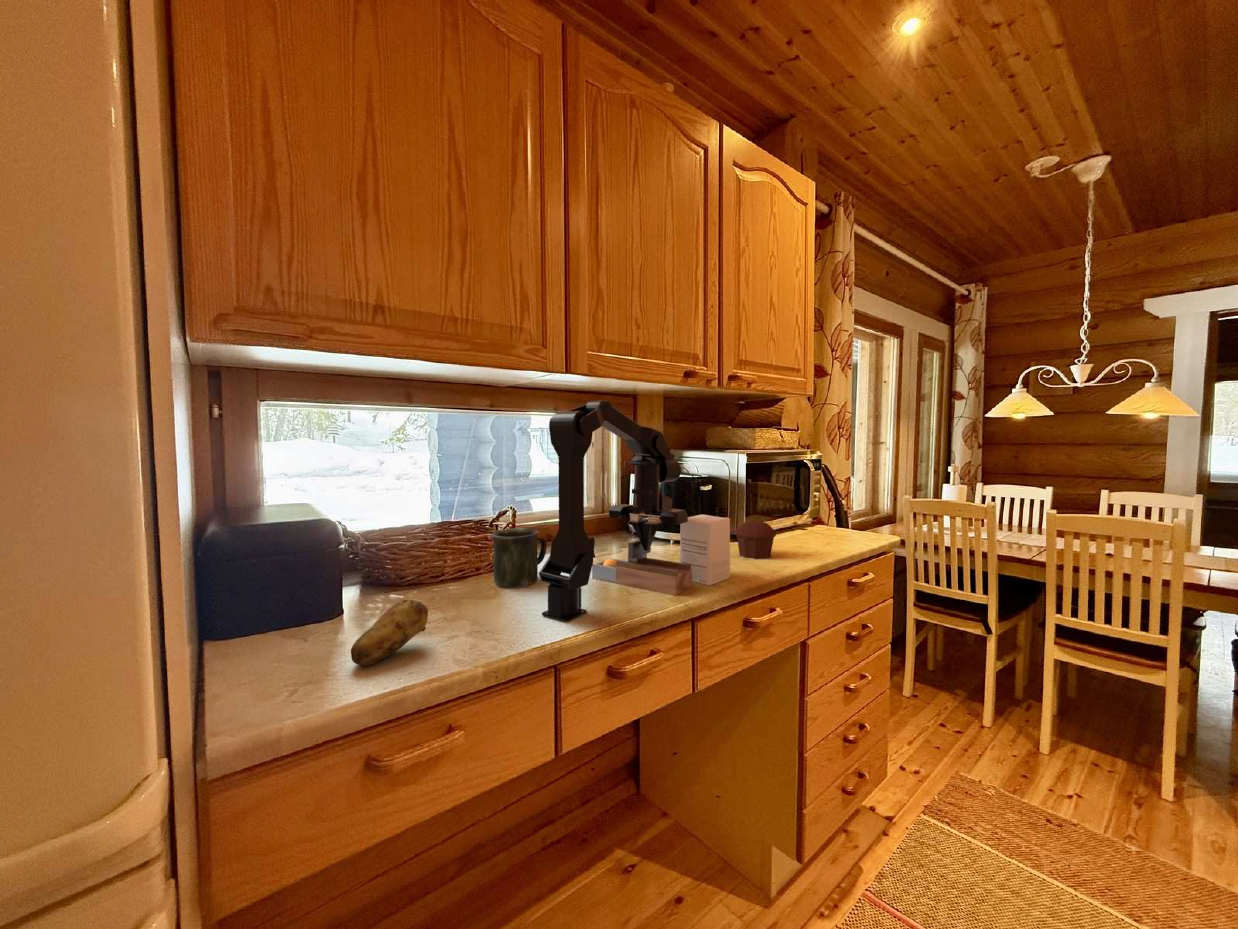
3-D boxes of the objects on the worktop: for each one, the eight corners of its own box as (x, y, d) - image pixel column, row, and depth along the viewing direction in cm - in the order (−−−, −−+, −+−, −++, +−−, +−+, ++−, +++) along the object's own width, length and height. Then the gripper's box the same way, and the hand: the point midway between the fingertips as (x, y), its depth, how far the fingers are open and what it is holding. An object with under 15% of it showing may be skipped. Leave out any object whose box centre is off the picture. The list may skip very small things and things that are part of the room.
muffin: (726, 554, 153) (727, 520, 152) (749, 549, 160) (750, 516, 159) (761, 562, 144) (761, 526, 143) (783, 556, 151) (784, 521, 150)
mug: (482, 582, 125) (482, 532, 124) (531, 570, 135) (531, 524, 135) (510, 592, 117) (509, 539, 117) (559, 578, 128) (559, 530, 127)
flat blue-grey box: (618, 583, 124) (618, 569, 123) (592, 578, 128) (592, 564, 128) (635, 576, 130) (635, 562, 130) (610, 571, 134) (610, 558, 134)
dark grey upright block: (632, 569, 121) (632, 543, 121) (623, 567, 122) (623, 541, 122) (650, 561, 127) (650, 537, 127) (641, 560, 129) (642, 536, 129)
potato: (338, 659, 83) (337, 609, 82) (418, 636, 92) (417, 591, 91) (357, 676, 77) (355, 623, 77) (440, 650, 86) (439, 602, 86)
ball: (614, 564, 126) (601, 558, 129) (610, 579, 127) (597, 572, 129) (623, 561, 130) (610, 555, 132) (619, 576, 131) (607, 569, 133)
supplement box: (700, 571, 134) (701, 513, 133) (730, 578, 128) (731, 517, 127) (678, 578, 128) (679, 518, 127) (709, 586, 122) (710, 522, 121)
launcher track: (675, 595, 115) (675, 572, 114) (615, 583, 124) (615, 561, 124) (691, 586, 121) (692, 564, 121) (634, 575, 130) (634, 555, 130)
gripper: (699, 483, 123) (698, 549, 124) (633, 479, 134) (633, 540, 135) (675, 487, 114) (675, 558, 115) (607, 483, 125) (607, 547, 126)
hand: (646, 550), depth 123 cm, fingers closed
